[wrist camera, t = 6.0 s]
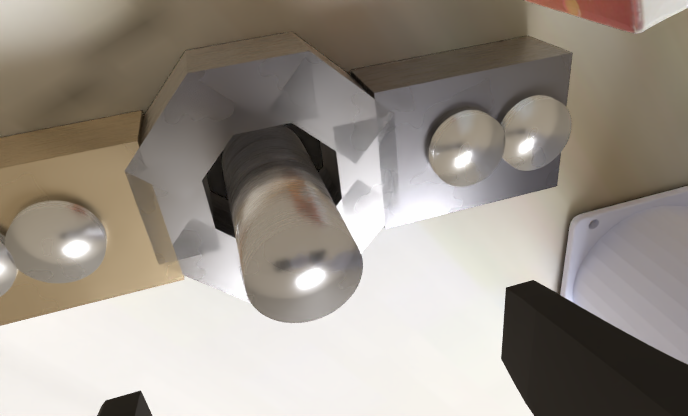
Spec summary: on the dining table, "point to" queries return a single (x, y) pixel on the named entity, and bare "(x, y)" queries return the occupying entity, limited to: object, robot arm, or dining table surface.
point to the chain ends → (258, 113)
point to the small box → (619, 11)
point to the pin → (287, 228)
